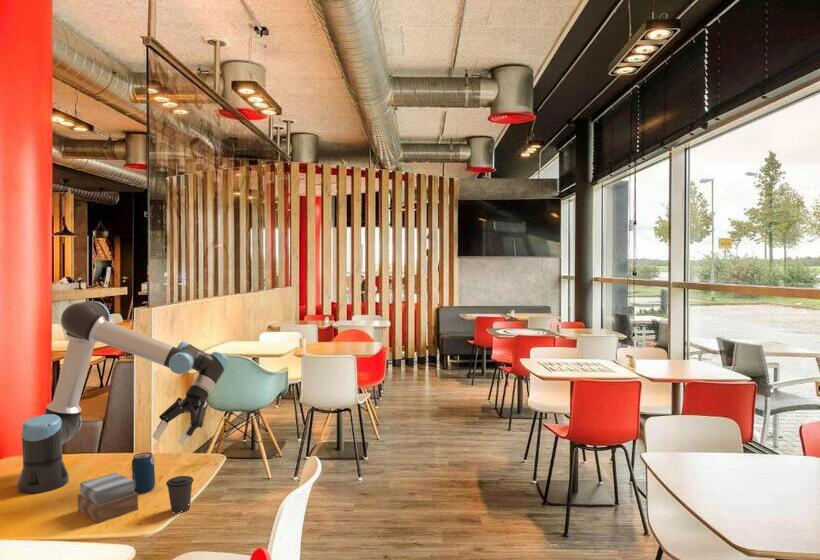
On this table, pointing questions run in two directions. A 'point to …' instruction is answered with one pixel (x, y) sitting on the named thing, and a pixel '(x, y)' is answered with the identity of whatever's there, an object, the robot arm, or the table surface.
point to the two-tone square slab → (107, 497)
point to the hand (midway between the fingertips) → (168, 440)
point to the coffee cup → (180, 493)
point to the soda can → (143, 472)
